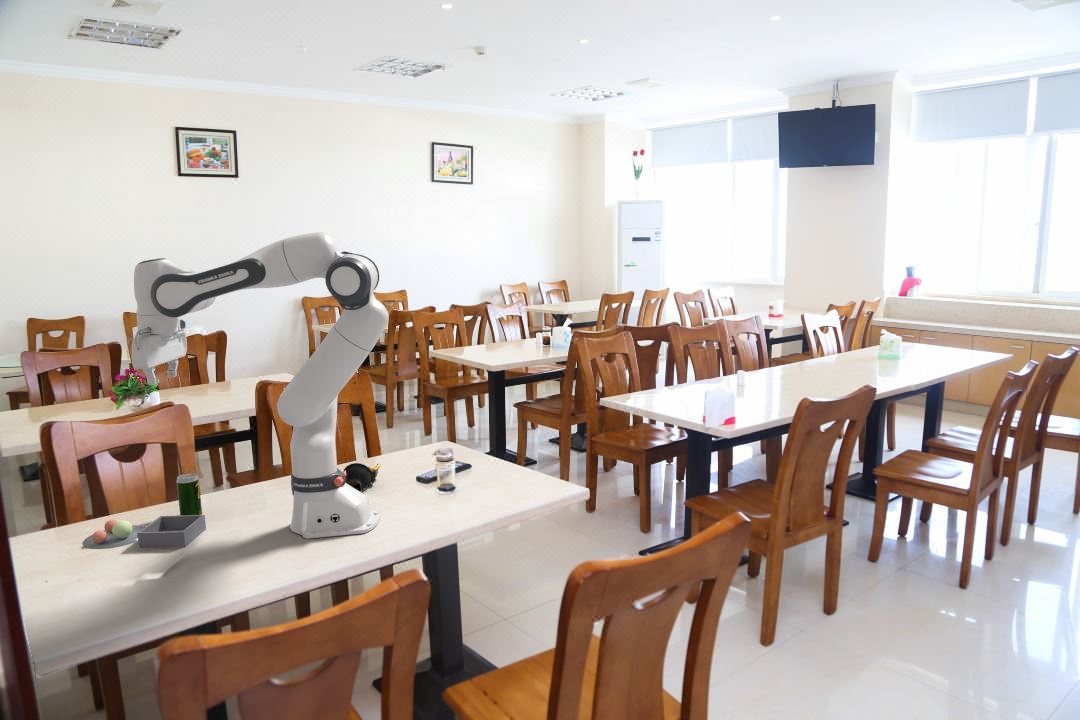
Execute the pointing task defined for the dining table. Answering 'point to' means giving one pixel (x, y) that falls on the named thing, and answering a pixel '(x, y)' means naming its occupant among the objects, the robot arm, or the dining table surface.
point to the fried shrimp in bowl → (360, 475)
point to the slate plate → (114, 539)
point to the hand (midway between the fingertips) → (162, 380)
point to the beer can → (189, 494)
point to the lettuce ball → (122, 529)
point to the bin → (171, 531)
